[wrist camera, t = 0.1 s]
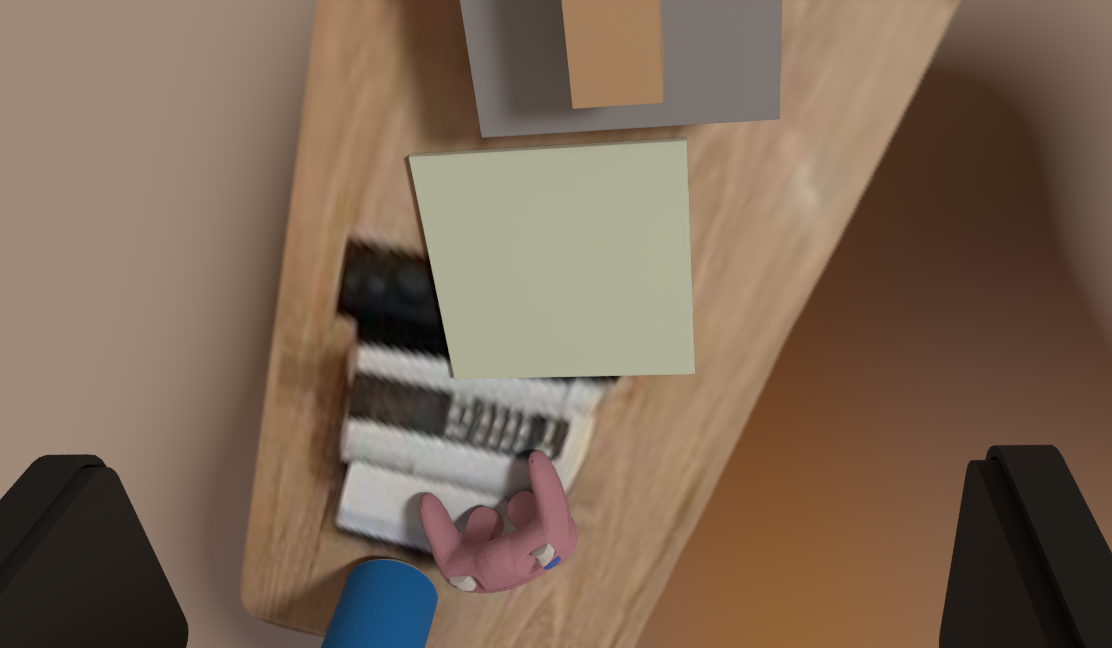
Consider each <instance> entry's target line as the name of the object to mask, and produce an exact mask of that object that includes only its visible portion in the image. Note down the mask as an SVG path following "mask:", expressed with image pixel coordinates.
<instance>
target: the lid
mask: <svg viewBox="0 0 1112 648" xmlns="http://www.w3.org/2000/svg"><path fill="white" fill-rule="evenodd" d="M460 4H461V11H462V17H463V23H464V30H465V36H466V42H467V48H468V55H469V61H470V67H471V73H472V80H473V86H474V92H475V98H476V105H477V111H478V117H479V123H480V130H481V136H482V138H485V137H501V136H517V135H533V134H549V133H565V132H581V131H597V130H614V129H630V128H646V127H662V126H678V125H694V124H710V123H726V122H743V121H759V120H775V119H780V70H781V19H782V0H460Z"/></svg>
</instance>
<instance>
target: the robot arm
mask: <svg viewBox="0 0 1112 648" xmlns="http://www.w3.org/2000/svg"><path fill="white" fill-rule="evenodd" d="M187 641H188V624H187V621H186V618H185V616H184V614H183V612H182V610H181V608H180V605H179V603H178V601H177V599H176V597H175V595H174V593H173V591H172V589H171V587H170V584H169V582H168V580H167V578H166V576H165V574H164V572H163V569H162V567H161V565H160V563H159V561H158V559H157V557H156V555H155V552H154V551H153V548H152V546H151V544H150V542H149V540H148V538H147V536H146V533H145V531H144V529H143V527H142V525H141V523H140V521H139V519H138V516H137V514H136V512H135V510H134V508H133V506H132V504H131V502H130V500H129V497H128V495H127V493H126V491H125V489H124V487H123V485H122V483H121V481H120V479H119V476H118V475H117V473H116V472H115V471H114V470H113V469H112V468H110V467H106V465H105V464H104V462H103V461H102V459H100V458H99V457H97V456H96V455H87V454H86V455H45V456H42V457H39V458H38V459H37V460H35V461H34V462H33V463H32V464H31V465H30V466H29V467H28V469H27V470H26V471H25V472H24V473H23V474H22V475H21V476H20V478H19V479H18V480H17V481H16V482H15V483H14V485H13V486H12V487H11V488H10V489H9V490H8V491H7V493H6V494H5V495H4V496H3V497H2V499H0V648H186V646H187ZM939 648H1112V553H1111V551H1110V549H1109V547H1108V545H1107V543H1106V541H1105V539H1104V537H1103V535H1102V533H1101V531H1100V529H1099V527H1098V525H1097V523H1096V521H1095V519H1094V517H1093V516H1092V513H1091V512H1090V510H1089V508H1088V506H1087V504H1086V502H1085V500H1084V498H1083V496H1082V494H1081V492H1080V490H1079V488H1078V486H1077V484H1076V482H1075V480H1074V478H1073V476H1072V474H1071V472H1070V471H1069V469H1068V467H1067V465H1066V463H1065V461H1064V459H1063V457H1062V455H1061V453H1060V452H1059V451H1058V449H1057V448H1056V447H1054V446H1053V445H999V446H997V445H996V446H991V447H990V449H989V450H988V452H987V455H986V459H985V460H972V461H970V462H969V464H968V466H967V471H966V476H965V482H964V488H963V494H962V501H961V506H960V513H959V519H958V525H957V532H956V537H955V543H954V549H953V555H952V562H951V568H950V574H949V580H948V586H947V592H946V598H945V605H944V611H943V616H942V623H941V629H940V636H939Z"/></svg>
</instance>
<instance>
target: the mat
mask: <svg viewBox="0 0 1112 648" xmlns="http://www.w3.org/2000/svg"><path fill="white" fill-rule="evenodd" d="M409 161H410V166H411V171H412V176H413V180H414V185H415V190H416V195H417V200H418V205H419V209H420V214H421V219H422V224H423V229H424V234H425V239H426V243H427V248H428V253H429V258H430V263H431V268H432V272H433V277H434V282H435V287H436V292H437V297H438V302H439V306H440V311H441V316H442V321H443V326H444V331H445V335H446V340H447V345H448V350H449V355H450V360H451V364H452V369H453V374H454V379H482V378H528V377H574V376H621V375H667V374H695V361H694V333H693V305H692V278H691V250H690V222H689V195H688V167H687V140H686V138H669V139H653V140H636V141H619V142H603V143H586V144H569V145H553V146H536V147H519V148H503V149H486V150H469V151H453V152H436V153H419V154H410V156H409Z"/></svg>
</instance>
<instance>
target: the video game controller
mask: <svg viewBox="0 0 1112 648" xmlns="http://www.w3.org/2000/svg"><path fill="white" fill-rule="evenodd" d="M528 476H529V480H530V483H531V487H532V491H533V493H531V492H529V491H521V492H519V493H517V494H516V495H514V496H513V497H512V499H511V500H510V502H509V504H508V508H507V515H508V518H509V520H510V522H511V524H513V525H514V526H515V527H516V528H518V530H516V531H514V532H511V533H509V534H506V535H504V536H501V535H502V532H503V526H504V523H503V519H502V517H501V515H500V513H498V512H497V511H495V510H493V509H491V508H489V507H479V508H477V509H475V510H474V511H473V512H472V513H471V515H470V517H469V519H468V522H467V526H466V529H465V532H464V534H461V533H460V532H459V531H458V529H457V528H456V527H455V525H454V523H453V522H452V520H451V518H450V516H449V514H448V512H447V510H446V509H445V507H444V506H443V504H442V503H441V501H440V500H439V499H438V498H437V497H436V496H434V495H433V494H431V493H427V494H425V495H423V496H422V498H421V501H420V506H419V513H420V520H421V524H422V526H423V529H424V532H425V535H426V538H427V540H428V543H429V546H430V548H431V551H432V554H433V557H434V559H435V562H436V565H437V567H438V569H439V571H440V573H441V575H442V576H443V577H444V579H445V580H446V581H447V582H448V583H449V584H451V585H452V586H453V587H455V588H458V589H460V590H463V591H466V592H472V593H473V592H476V593H495V592H501V591H506V590H509V589H513V588H515V587H518V586H521V585H523V584H526V583H528V582H529V581H531V580H533V579H535V578H537V577H538V576H540V575H542V574H543V573H544V572H546V571H547V570H548V569H550V568H552V567H554V566H557V565H559V564H561V563H563V562H564V561H566V560H567V559H568V558H569V557H570V556H571V554H572V553H573V551H574V549H575V547H576V543H577V527H576V525H575V522H574V521H573V519H572V518H571V514H570V510H569V507H568V503H567V500H566V496H565V493H564V489H563V487H562V484H561V481H560V479H559V476H558V474H557V472H556V470H555V468H554V466H553V465H552V463H551V461H550V460H549V458H548V457H547V456H546V455H545V454H544V453H543V452H542V451H539V450H535V451H532V452H531V453H530V455H529V458H528Z"/></svg>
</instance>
